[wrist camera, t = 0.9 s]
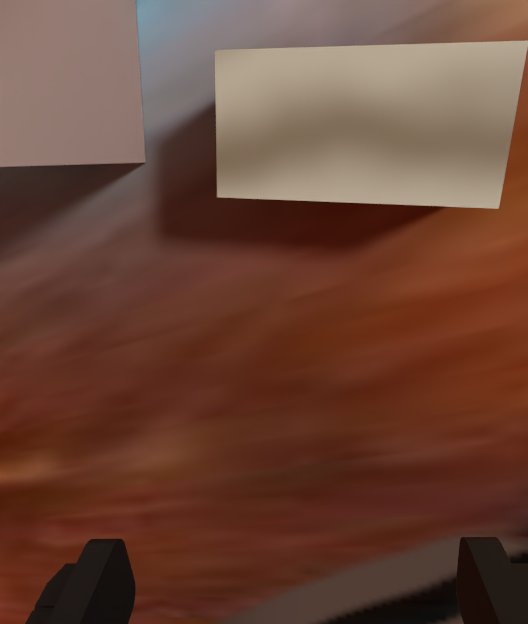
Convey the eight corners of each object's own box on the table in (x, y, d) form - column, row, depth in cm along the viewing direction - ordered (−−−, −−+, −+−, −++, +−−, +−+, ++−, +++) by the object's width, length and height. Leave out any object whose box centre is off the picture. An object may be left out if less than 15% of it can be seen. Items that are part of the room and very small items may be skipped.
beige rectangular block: (255, 76, 30) (214, 50, 23) (487, 71, 27) (528, 40, 20) (254, 187, 32) (217, 197, 25) (468, 195, 29) (498, 208, 22)
